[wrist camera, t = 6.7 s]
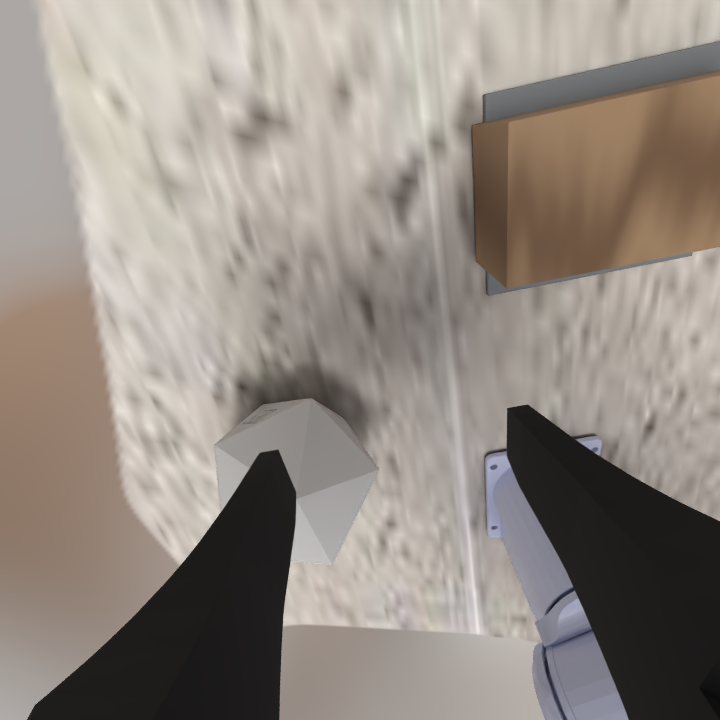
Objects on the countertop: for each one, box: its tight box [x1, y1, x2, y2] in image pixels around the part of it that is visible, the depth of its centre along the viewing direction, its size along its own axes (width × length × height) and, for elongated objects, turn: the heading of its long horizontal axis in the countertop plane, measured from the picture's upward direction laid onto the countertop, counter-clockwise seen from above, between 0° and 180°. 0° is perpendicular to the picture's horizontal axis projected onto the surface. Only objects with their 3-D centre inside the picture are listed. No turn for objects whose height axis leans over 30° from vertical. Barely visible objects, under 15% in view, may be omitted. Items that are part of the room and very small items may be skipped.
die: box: [214, 398, 379, 565], centre depth 21 cm, size 8×9×10 cm
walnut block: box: [472, 71, 720, 289], centre depth 16 cm, size 6×4×10 cm
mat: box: [483, 42, 720, 296], centre depth 18 cm, size 9×11×1 cm
